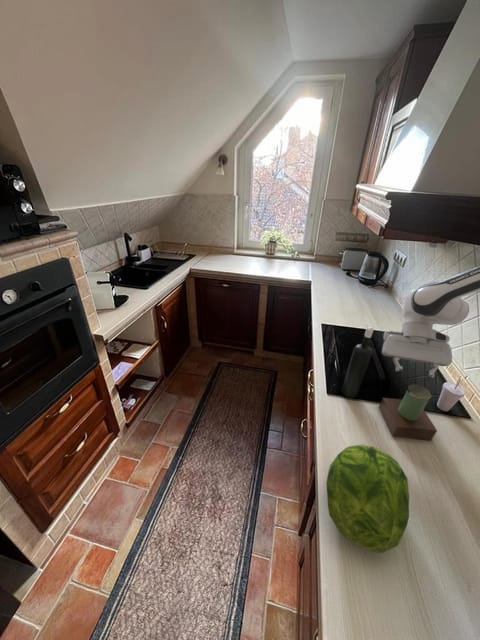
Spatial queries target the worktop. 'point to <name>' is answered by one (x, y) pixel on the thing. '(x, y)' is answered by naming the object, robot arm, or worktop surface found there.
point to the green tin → (414, 402)
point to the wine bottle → (357, 366)
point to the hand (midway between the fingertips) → (414, 374)
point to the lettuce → (368, 497)
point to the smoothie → (450, 395)
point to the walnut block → (405, 422)
